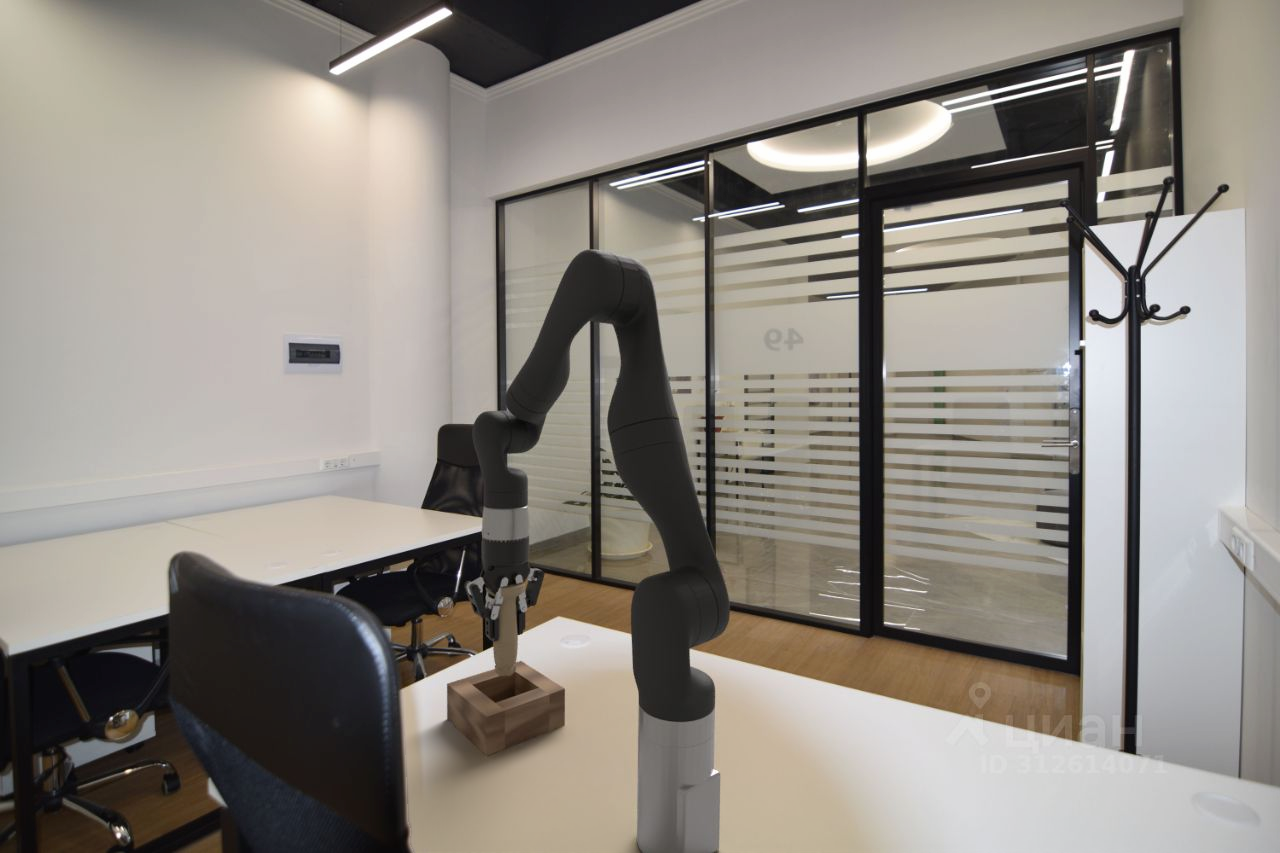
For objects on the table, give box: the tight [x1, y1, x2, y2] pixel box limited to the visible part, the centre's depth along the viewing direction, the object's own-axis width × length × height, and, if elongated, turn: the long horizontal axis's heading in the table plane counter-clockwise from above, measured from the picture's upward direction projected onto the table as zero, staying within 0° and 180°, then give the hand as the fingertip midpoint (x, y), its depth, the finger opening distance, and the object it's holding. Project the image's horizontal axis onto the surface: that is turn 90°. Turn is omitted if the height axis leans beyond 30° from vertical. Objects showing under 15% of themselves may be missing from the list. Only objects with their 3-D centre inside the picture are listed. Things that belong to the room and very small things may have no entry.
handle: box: [485, 581, 526, 676], centre depth 103 cm, size 5×6×15 cm
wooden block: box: [446, 660, 566, 757], centre depth 103 cm, size 14×14×6 cm
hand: (505, 636), depth 103 cm, fingers closed on handle, 4 cm apart
